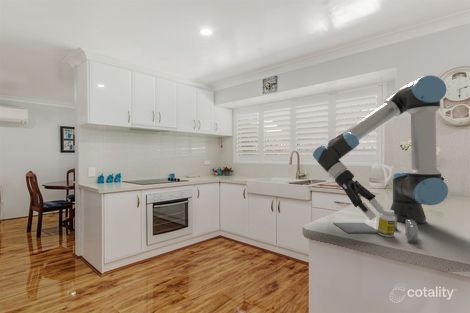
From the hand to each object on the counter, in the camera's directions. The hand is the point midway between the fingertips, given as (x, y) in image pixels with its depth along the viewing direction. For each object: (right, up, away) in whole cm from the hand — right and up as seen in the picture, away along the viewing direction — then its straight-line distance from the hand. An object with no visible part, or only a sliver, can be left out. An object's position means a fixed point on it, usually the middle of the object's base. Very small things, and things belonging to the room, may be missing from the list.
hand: (378, 215), depth 99 cm
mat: (-5, -7, +8) cm, 12 cm away
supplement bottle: (+2, -8, -1) cm, 8 cm away
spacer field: (+9, -8, -1) cm, 12 cm away
